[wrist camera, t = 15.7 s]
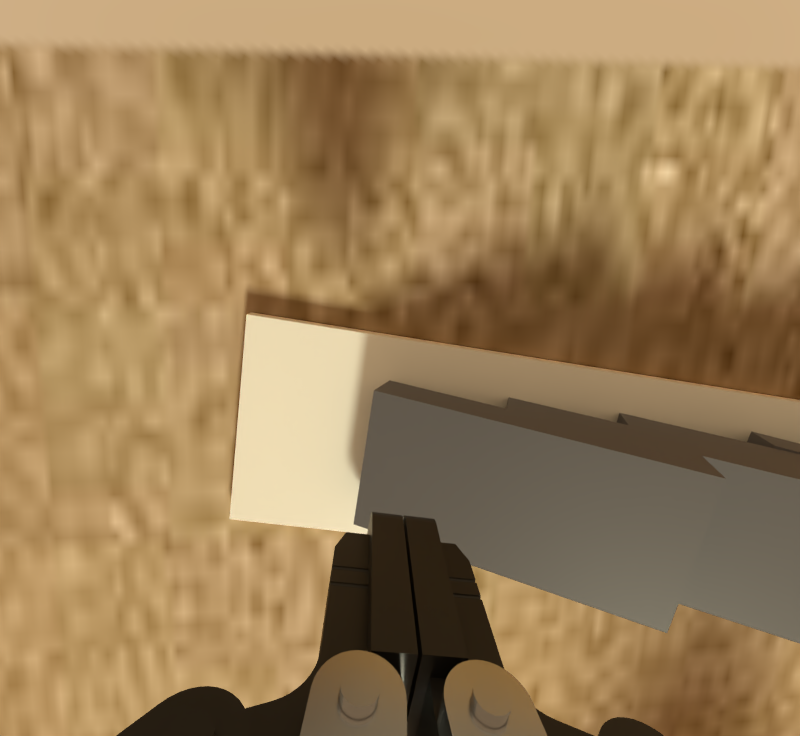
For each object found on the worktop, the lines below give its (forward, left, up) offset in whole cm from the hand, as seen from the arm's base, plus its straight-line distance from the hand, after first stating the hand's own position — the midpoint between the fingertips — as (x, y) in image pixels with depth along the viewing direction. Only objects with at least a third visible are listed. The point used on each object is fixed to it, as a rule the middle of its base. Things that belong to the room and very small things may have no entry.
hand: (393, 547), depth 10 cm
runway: (+7, 0, -6) cm, 10 cm away
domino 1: (-1, 0, -5) cm, 5 cm away
